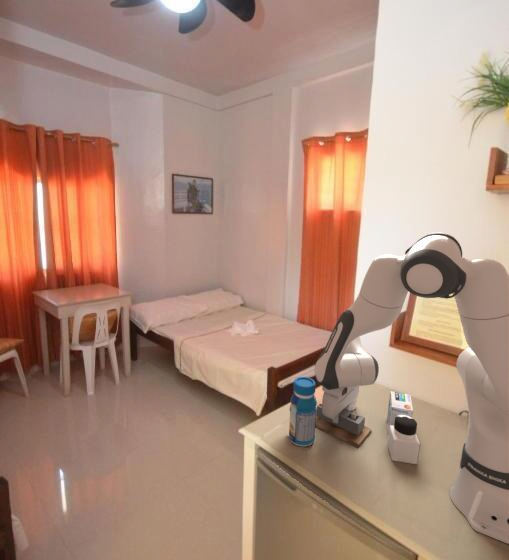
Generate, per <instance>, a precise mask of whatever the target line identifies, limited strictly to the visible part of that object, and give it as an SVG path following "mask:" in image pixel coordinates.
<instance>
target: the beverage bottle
mask: <svg viewBox="0 0 509 560" xmlns="http://www.w3.org/2000/svg"><path fill="white" fill-rule="evenodd" d="M316 386H317V385H316V381H315V380H314V379H313V378H311V377H308V376H298V377H296V378H295V379H294V380H293V388H292V389H293V393H292V395H291V397H290V405H289V426H288V427H289V428H288V439H289V441H290V442H291V443H292V444H294V445H296V446H298V447H308V446H311V445H312V444H314V442H315V437H316V436H315V431H316V427H315V422H316V414H317V406H318V405H317V404H318V402H317V398H316V396H315V393H316Z"/></svg>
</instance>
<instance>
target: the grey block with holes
mask: <svg viewBox="0 0 509 560" xmlns="http://www.w3.org/2000/svg"><path fill="white" fill-rule="evenodd" d="M316 408H317V413H316V417H319V418H321V419H323V420H325V421H327V422H329V423H332V424H334V425H336V426H338V427H340V428H342V429H345V430H347V431H349V432H351V433H353V434H355V435H359V433H360V432H361V431H362V430H363V429H364V426H365V422H366V416H364V415H361V414H359V413H356V421H355V420H352V419H351V413H355V412H354V411H352V410H351V411H349V410H347V409H343V410H342V411H341V412H340V413H339V415H338V417H340V419H339V420H340V421H339V422H338V423H334V422H333V419H330V418H328V417H326V416H324V415H323V413H322V400H321V401H320V402H319V404H318V405H316Z"/></svg>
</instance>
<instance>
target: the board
mask: <svg viewBox="0 0 509 560" xmlns="http://www.w3.org/2000/svg"><path fill="white" fill-rule="evenodd" d="M356 414H357V413H356V412H354V413H351V419H352V420H355V421H356ZM315 428H318V429H320V430H322V431H324V432H325V433H328V434H330V435H332V436H333V437H336V438H338V439H339V440H342V441H344V442H346V443H349V444H351V445H353V446H354V447H356V448H358V449H359V448H360V447H361V446H362V444H363V443H364V442H365V441H366V440H367V438H368V437H369V436H370V434H371V433H372V428H370V427H368V426H365V425H364V429H363V430H362V431H361V432H360V433H359V435H355V434H353V433H351V432H349V431H347V430H345V429H342V428H340V427H338V426H336V425H334V424H332V423H329V422H327V421H325V420H323V419H321V418H319V417H316V422H315Z"/></svg>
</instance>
